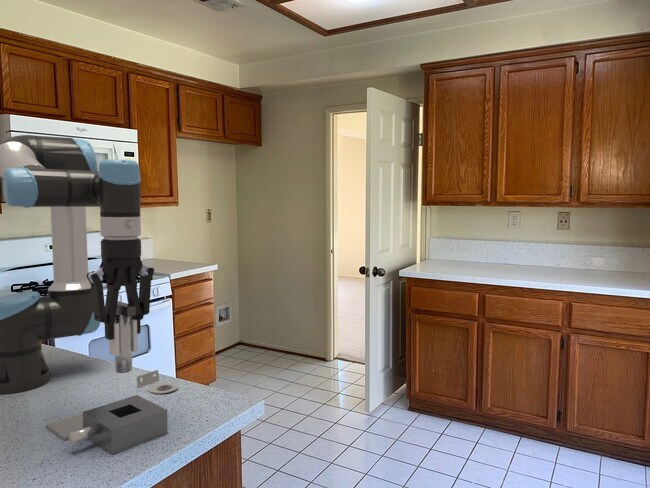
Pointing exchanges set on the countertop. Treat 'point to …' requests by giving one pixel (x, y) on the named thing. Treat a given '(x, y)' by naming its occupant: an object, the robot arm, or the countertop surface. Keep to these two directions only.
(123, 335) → the chuck key
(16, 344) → the robot arm
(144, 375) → the bracket
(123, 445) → the block
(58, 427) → the mat
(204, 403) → the countertop surface
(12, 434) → the countertop surface
